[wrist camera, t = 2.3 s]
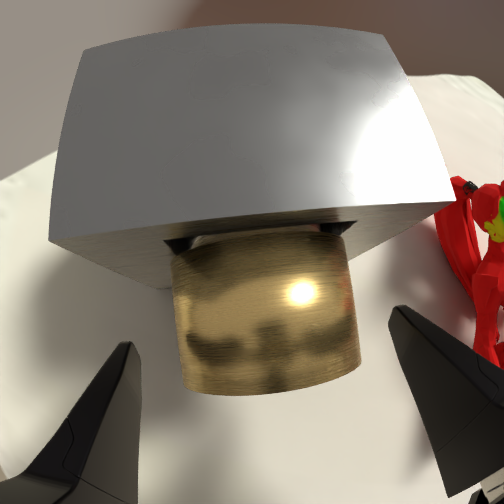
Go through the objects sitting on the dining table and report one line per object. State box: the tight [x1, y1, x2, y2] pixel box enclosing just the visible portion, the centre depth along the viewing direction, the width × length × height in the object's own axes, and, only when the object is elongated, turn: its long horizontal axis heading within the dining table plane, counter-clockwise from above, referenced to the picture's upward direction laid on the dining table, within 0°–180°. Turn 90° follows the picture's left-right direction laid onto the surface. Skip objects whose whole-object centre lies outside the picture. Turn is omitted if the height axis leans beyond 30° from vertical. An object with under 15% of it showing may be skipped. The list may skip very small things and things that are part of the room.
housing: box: [48, 24, 456, 289], centre depth 13 cm, size 7×11×12 cm, turn 97°
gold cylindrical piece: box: [170, 224, 361, 396], centre depth 11 cm, size 8×6×6 cm
